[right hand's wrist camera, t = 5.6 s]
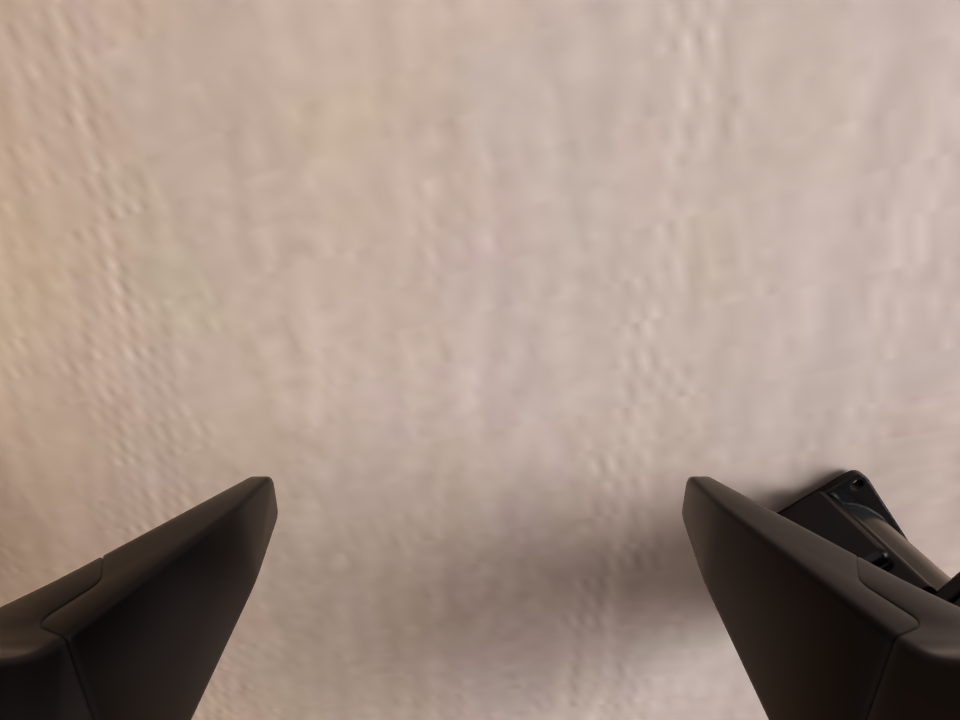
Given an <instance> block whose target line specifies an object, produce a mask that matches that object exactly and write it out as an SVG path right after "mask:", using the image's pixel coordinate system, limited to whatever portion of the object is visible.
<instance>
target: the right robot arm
mask: <svg viewBox="0 0 960 720" xmlns="http://www.w3.org/2000/svg"><path fill="white" fill-rule="evenodd" d="M855 480H857V481H856V482H855V483H854V484H852V483H853V482H854V481H855ZM277 513H278V510H277V503H276V496H275V490H274V484H273V481H272V479H271V478H270V477H250V478H248V479H246V480H244V481H243V482H241V483H239V484H237V485H235V486H233V487H231V488H229V489H228V490H226V491H224V492H222V493H220V494H218V495H216V496H214V497H213V498H211V499H209V500H207V501H205V502H203V503H201V504H199V505H198V506H196V507H194V508H192V509H190V510H188V511H186V512H185V513H183V514H181V515H179V516H177V517H175V518H173V519H171V520H170V521H168V522H166V523H164V524H162V525H160V526H158V527H156V528H155V529H153V530H151V531H149V532H147V533H145V534H143V535H141V536H140V537H138V538H136V539H134V540H132V541H130V542H128V543H126V544H125V545H123V546H121V547H119V548H117V549H115V550H113V551H112V552H110V553H108V554H106V555H104V557H103V558H98V559H96V560H94V561H93V562H91V563H89V564H87V565H85V566H83V567H81V568H80V569H78V570H76V571H74V572H72V573H70V574H68V575H66V576H64V577H62V578H60V579H58V580H56V581H54V582H52V583H50V584H48V585H46V586H44V587H42V588H40V589H38V590H36V591H34V592H32V593H30V594H28V595H25V596H23V597H21V598H19V599H17V600H15V601H13V602H11V603H9V604H6V605H4V606H2V607H0V720H191V719H192V717H193V715H194V712H195V710H196V708H197V706H198V704H199V702H200V700H201V697H202V695H203V693H204V691H205V689H206V687H207V685H208V683H209V680H210V678H211V676H212V674H213V672H214V670H215V668H216V666H217V663H218V661H219V659H220V657H221V655H222V653H223V651H224V648H225V646H226V644H227V642H228V640H229V638H230V636H231V634H232V631H233V629H234V627H235V625H236V623H237V621H238V619H239V617H240V614H241V612H242V610H243V608H244V606H245V604H246V602H247V599H248V597H249V595H250V593H251V591H252V589H253V586H254V584H255V582H256V579H257V576H258V574H259V571H260V568H261V565H262V562H263V559H264V556H265V553H266V550H267V547H268V544H269V541H270V538H271V535H272V532H273V529H274V526H275V523H276V520H277ZM682 514H683V520H684V523H685V526H686V529H687V532H688V535H689V538H690V541H691V544H692V547H693V550H694V553H695V556H696V559H697V562H698V565H699V568H700V571H701V574H702V576H703V579H704V582H705V584H706V586H707V589H708V591H709V593H710V595H711V597H712V600H713V602H714V604H715V606H716V608H717V610H718V612H719V614H720V617H721V619H722V621H723V623H724V625H725V627H726V629H727V631H728V634H729V636H730V638H731V640H732V642H733V644H734V646H735V649H736V651H737V653H738V655H739V657H740V659H741V661H742V663H743V666H744V668H745V670H746V672H747V674H748V676H749V678H750V680H751V683H752V685H753V687H754V689H755V691H756V693H757V695H758V697H759V700H760V702H761V704H762V706H763V708H764V710H765V712H766V715H767V717H768V719H769V720H960V572H959V573H958V574H957V575H955V576H954V577H953V578H952V579H951V578H950V577H949V576H947V575H946V574H945V573H944V572H943V571H942V570H941V569H939V568H938V567H937V566H936V565H935V564H934V563H933V562H931V561H930V560H929V559H928V558H927V557H926V556H925V555H923V554H922V553H921V552H920V551H919V550H918V549H917V548H915V547H914V546H913V545H912V544H911V543H910V542H909V541H908V540H907V538H906V537H905V535H904V534H903V532H902V531H901V529H900V528H899V526H898V524H897V523H896V521H895V520H894V518H893V517H892V515H891V514H890V512H889V510H888V509H887V507H886V506H885V504H884V503H883V501H882V500H881V498H880V497H879V495H878V493H877V492H876V490H875V489H874V487H873V486H872V484H871V483H870V481H869V480H868V478H867V477H866V476H864V475H863V474H862V473H861V472H859V471H857V470H851V471H848V472H846V473H844V474H843V475H841V476H839V477H838V478H836V479H834V480H833V481H831V482H829V483H827V484H826V485H824V486H822V487H821V488H819V489H817V490H816V491H814V492H812V493H810V494H809V495H807V496H805V497H804V498H802V499H800V500H799V501H797V502H795V503H793V504H792V505H790V506H788V507H787V508H785V509H783V510H782V511H780V512H778V513H775V512H774V511H772V510H770V509H768V508H766V507H764V506H762V505H761V504H759V503H757V502H755V501H753V500H751V499H749V498H747V497H746V496H744V495H742V494H740V493H738V492H736V491H734V490H732V489H731V488H729V487H727V486H725V485H723V484H721V483H719V482H717V481H716V480H714V479H712V478H710V477H690V478H689V479H688V481H687V484H686V490H685V496H684V503H683V510H682Z"/></svg>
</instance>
